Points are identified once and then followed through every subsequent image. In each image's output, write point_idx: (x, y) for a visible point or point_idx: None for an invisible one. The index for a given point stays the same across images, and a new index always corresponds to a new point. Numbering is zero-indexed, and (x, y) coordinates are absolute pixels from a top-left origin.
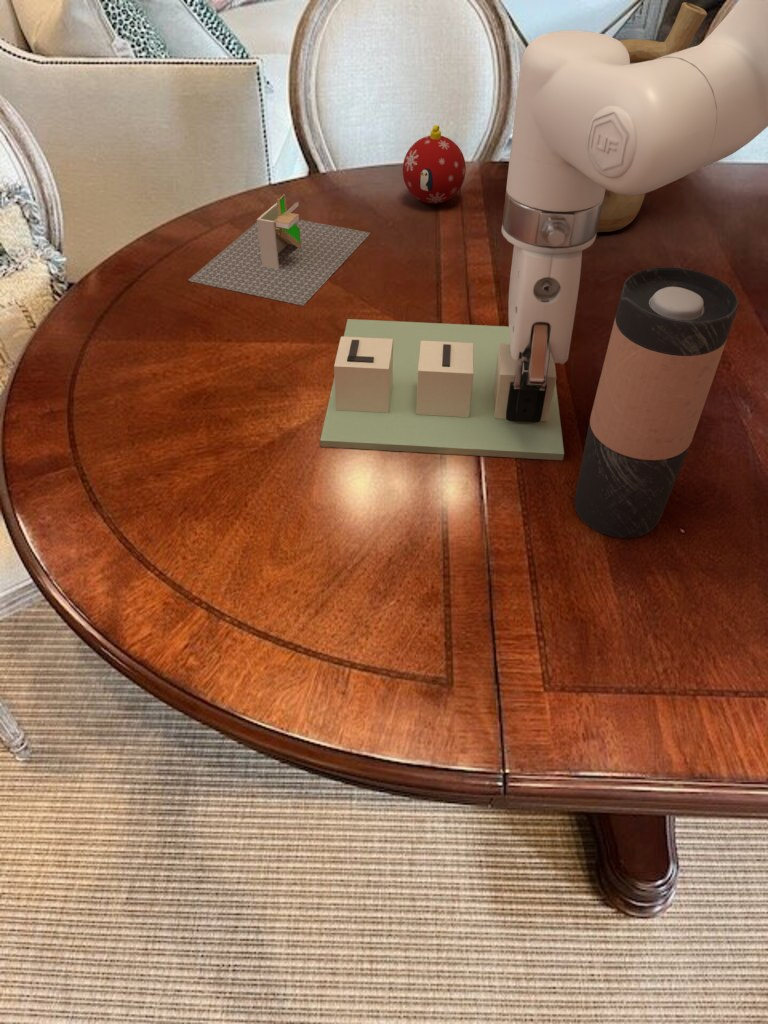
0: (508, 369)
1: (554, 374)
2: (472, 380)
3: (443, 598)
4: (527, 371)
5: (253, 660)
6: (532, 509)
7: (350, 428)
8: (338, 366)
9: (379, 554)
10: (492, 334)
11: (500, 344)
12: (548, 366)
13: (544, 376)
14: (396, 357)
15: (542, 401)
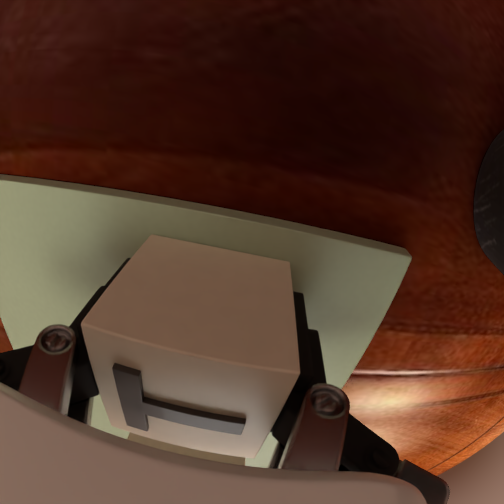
0: (234, 448)
1: (279, 374)
2: (244, 462)
3: (497, 394)
4: (248, 425)
5: (457, 457)
6: (472, 321)
7: (257, 466)
8: None
9: (433, 435)
10: (3, 284)
11: (114, 426)
12: (338, 467)
13: (382, 466)
14: (101, 413)
15: (307, 337)
